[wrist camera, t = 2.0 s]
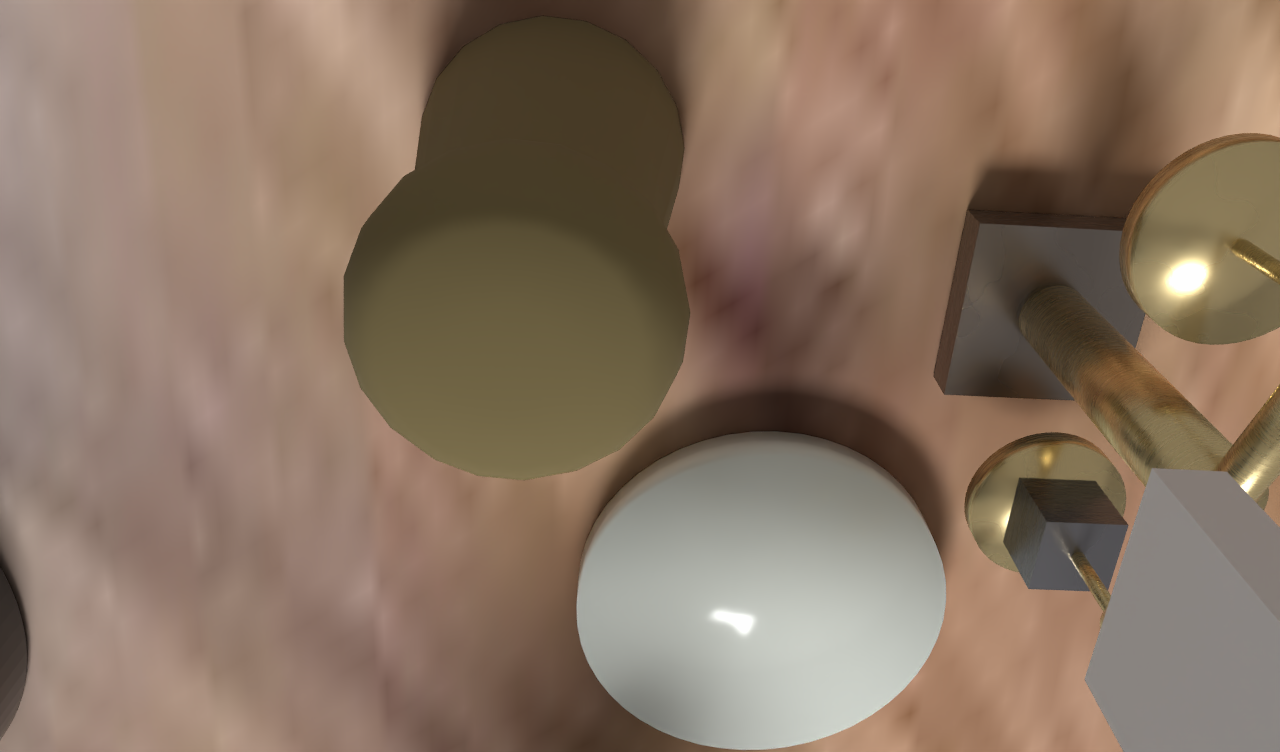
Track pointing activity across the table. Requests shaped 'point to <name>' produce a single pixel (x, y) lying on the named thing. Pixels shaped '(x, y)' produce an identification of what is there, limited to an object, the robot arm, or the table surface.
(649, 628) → the dish
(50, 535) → the table surface
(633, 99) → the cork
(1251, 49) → the table surface
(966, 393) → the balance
